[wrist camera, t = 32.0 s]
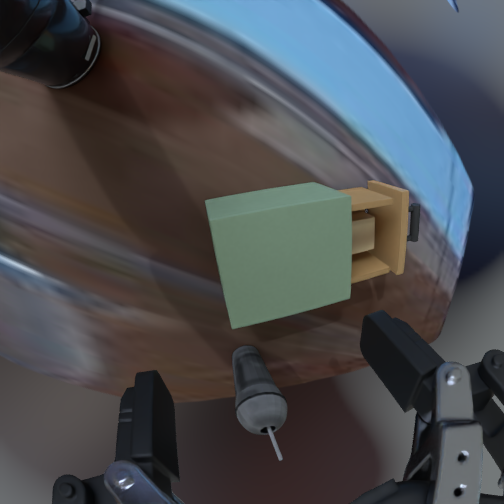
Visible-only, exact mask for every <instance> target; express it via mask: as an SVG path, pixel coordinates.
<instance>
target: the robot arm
mask: <svg viewBox="0 0 504 504" xmlns="http://www.w3.org/2000/svg"><path fill="white" fill-rule="evenodd" d="M91 8H92V4H91V2H90V1H89V0H75V1H74V2H72V1H71V0H0V71H1V72H5V73H8V74H12V75H15V76H19V77H22V78H25V79H29V80H32V81H35V82H38V83H41V84H44V85H46V86H48V87H51V88H55V89H62V88H66V87H69V86H72V85H74V84H76V83H77V82H79V81H80V80H81V79H83V78H84V77H85V76H86V75H87V74H88V73H89V72H90V70H91V69H92V68H93V66H94V65H95V63H96V61H97V59H98V57H99V54H100V50H101V39H100V36H99V34H98V32H97V31H96V30H95V29H94V28H93V27H92V26H90V22H89V21H88V19H87V18H86V16H88V15H91ZM360 348H361V352H362V354H363V356H364V358H365V359H366V361H367V362H368V363H369V365H370V366H371V367H372V369H373V370H374V371H375V373H376V374H377V375H378V377H379V378H380V379H381V381H382V382H383V383H384V385H385V386H386V388H387V389H388V390H389V391H390V393H391V394H392V396H393V397H394V398H395V400H396V401H397V403H398V404H399V405H400V407H401V408H402V409H403V411H404V412H407V411H409V410H411V409H412V408H415V410H416V411H417V413H416V416H415V426H414V434H413V442H412V449H411V455H410V458H409V461H408V463H407V465H406V468H405V471H404V475H403V480H402V481H401V482H395V480H394V479H391V480H389V481H388V482H385V483H384V484H382V485H380V486H378V487H376V488H374V489H372V490H370V491H368V492H365V493H364V494H362V495H361V496H359V497H358V498H357V499H355V500H354V501H353V502H351V503H350V504H504V413H503V412H502V411H501V409H500V408H499V407H498V406H497V404H496V403H495V402H494V400H493V399H492V397H493V396H494V394H495V395H496V396H497V398H498V399H499V400H500V401H501V403H502V404H503V405H504V352H502V351H500V350H490V351H488V352H487V353H485V355H484V357H483V359H482V361H481V362H479V363H475V364H472V365H469V366H463V365H462V364H460V363H457V362H445V361H444V360H443V359H442V358H441V357H440V356H439V355H438V354H437V353H436V352H435V351H434V350H433V349H432V348H431V347H430V346H429V345H428V344H427V343H426V342H425V341H424V340H423V339H421V337H420V336H419V335H418V334H417V333H415V331H414V330H413V329H412V328H411V327H410V326H409V325H408V324H407V323H406V322H404V321H402V320H400V319H398V318H393V319H392V318H391V317H390V316H389V315H388V314H387V313H386V312H385V311H383V310H379V311H377V312H374V313H371V314H369V315H366V316H364V318H363V324H362V333H361V340H360ZM483 444H484V445H485V447H486V449H487V450H488V452H489V453H490V454H491V456H492V458H493V459H494V461H495V462H496V464H497V465H498V467H499V469H500V470H501V477H500V479H499V480H498V487H499V488H503V496H497V495H488V494H482V493H480V489H481V477H482V458H483ZM179 481H180V476H179V465H178V455H177V442H176V427H175V409H174V403H173V399H172V396H171V394H170V392H169V391H168V389H167V387H166V385H165V383H164V382H163V380H162V378H161V376H160V374H159V373H158V371H157V370H152V371H146V372H139V373H137V374H136V377H135V386H134V387H131V388H127V389H126V391H125V393H124V395H123V396H122V398H121V403H120V413H119V423H118V431H117V443H116V457H115V461H114V463H112V464H111V465H110V466H108V467H107V469H106V471H105V473H104V474H102V475H100V476H96V477H92V478H89V479H85V480H80V479H78V478H77V477H75V476H73V475H63V476H61V477H59V478H58V479H57V480H56V481H55V483H54V486H53V496H52V497H53V498H52V504H184V503H183V502H182V501H181V500H180V499H179V498H178V497H177V496H176V495H174V493H172V489H171V482H179Z"/></svg>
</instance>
